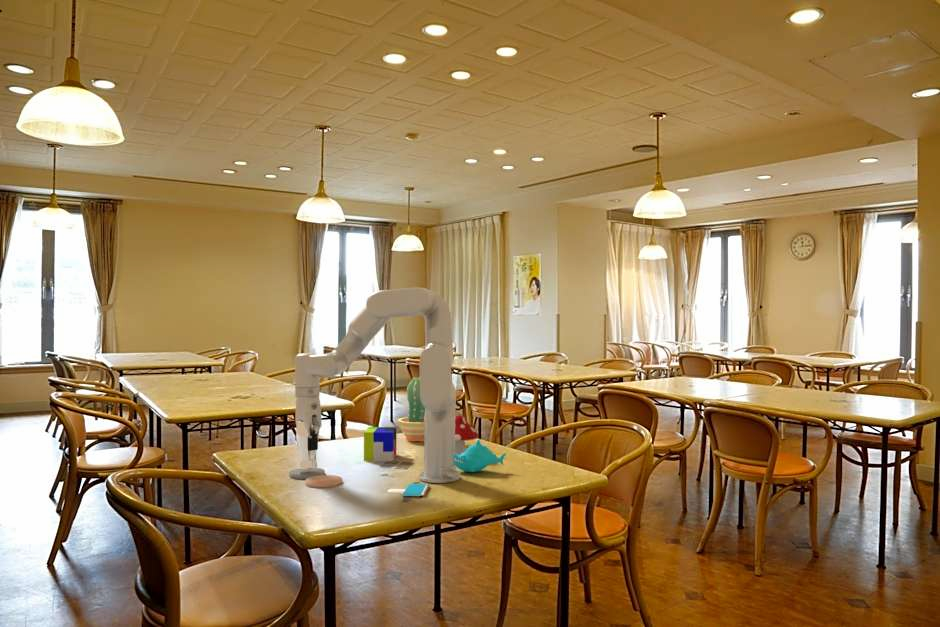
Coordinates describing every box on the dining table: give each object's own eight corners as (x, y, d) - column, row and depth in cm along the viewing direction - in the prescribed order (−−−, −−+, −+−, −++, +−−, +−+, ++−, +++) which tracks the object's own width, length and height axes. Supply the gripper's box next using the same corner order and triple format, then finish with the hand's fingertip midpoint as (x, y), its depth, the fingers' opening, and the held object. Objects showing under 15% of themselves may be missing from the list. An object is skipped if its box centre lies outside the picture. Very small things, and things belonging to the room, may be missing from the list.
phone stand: (394, 483, 203) (394, 478, 202) (433, 484, 202) (433, 479, 202) (380, 503, 183) (380, 497, 183) (423, 504, 182) (423, 498, 182)
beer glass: (321, 465, 213) (321, 418, 213) (314, 470, 206) (314, 422, 206) (300, 464, 214) (300, 418, 214) (292, 469, 207) (292, 421, 207)
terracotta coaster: (348, 483, 200) (348, 480, 200) (314, 489, 193) (314, 486, 193) (332, 476, 209) (332, 473, 209) (299, 481, 202) (299, 478, 202)
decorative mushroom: (472, 462, 228) (473, 419, 228) (434, 460, 232) (434, 417, 232) (482, 453, 242) (482, 412, 242) (446, 451, 245) (446, 411, 245)
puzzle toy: (392, 461, 230) (392, 432, 230) (363, 461, 230) (363, 432, 230) (396, 454, 240) (396, 427, 240) (368, 454, 240) (368, 427, 240)
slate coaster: (330, 475, 209) (330, 472, 209) (297, 481, 203) (297, 478, 203) (315, 468, 218) (315, 465, 218) (283, 474, 211) (283, 470, 211)
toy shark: (451, 468, 220) (451, 436, 220) (505, 468, 220) (505, 436, 220) (450, 475, 210) (451, 442, 210) (507, 475, 211) (507, 442, 210)
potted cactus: (430, 444, 258) (430, 380, 258) (392, 442, 261) (392, 379, 261) (439, 436, 273) (439, 376, 273) (403, 435, 276) (404, 375, 276)
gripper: (330, 394, 206) (330, 451, 206) (306, 388, 219) (306, 442, 219) (308, 396, 201) (308, 454, 201) (285, 390, 215) (285, 445, 215)
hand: (307, 447), depth 210 cm, fingers closed on beer glass, 6 cm apart
